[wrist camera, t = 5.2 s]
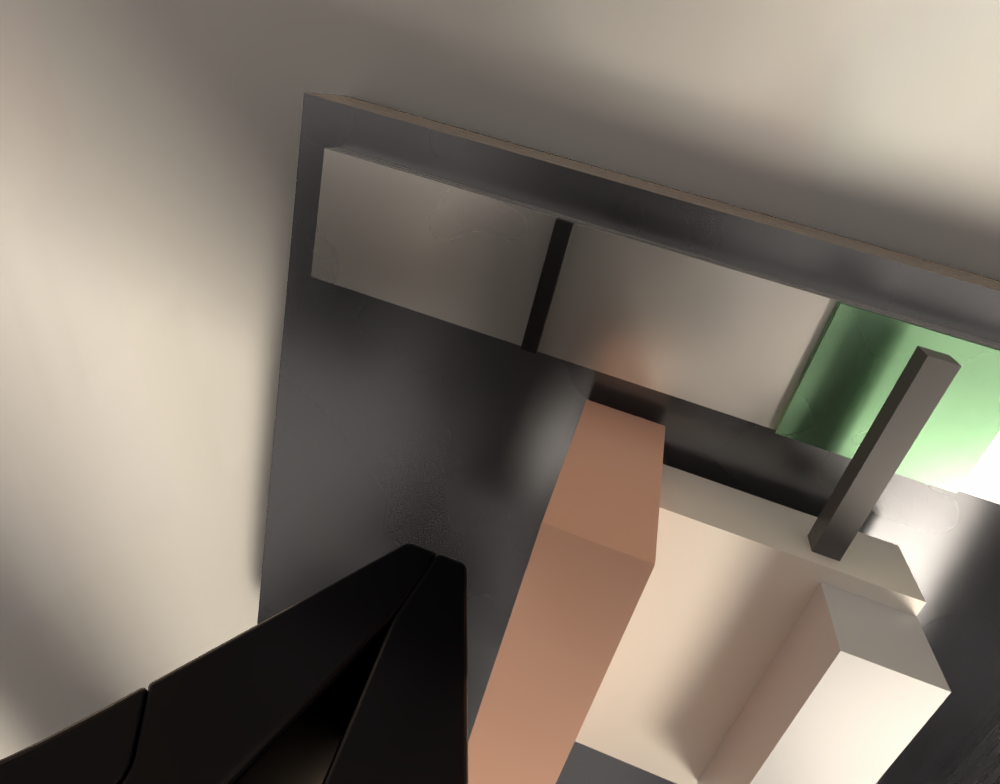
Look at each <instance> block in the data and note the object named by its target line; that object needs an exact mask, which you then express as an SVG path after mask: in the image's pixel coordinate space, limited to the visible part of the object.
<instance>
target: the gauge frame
mask: <svg viewBox="0 0 1000 784" xmlns="http://www.w3.org/2000/svg"><path fill="white" fill-rule="evenodd" d="M917 346H921V347H924V348H927V349H931V350H934V351H937V352H941V353H944V354H947V355H950V356H951V357H952V358H953V359H954V360H956V361H957V362H958V363H959V364H960V365H961V368H960V369H959V371H958V373H957V374H956V376H955V377H954V379H953V381H952V382H951V384H950V385H949V387H948V389H947V390H946V392H945V393H944V395H943V397H942V398H941V400H940V401H939V403H938V405H937V406H936V408H935V409H934V411H933V413H932V414H931V416H930V417H929V419H928V421H927V422H926V424H925V425H924V427H923V429H922V430H921V432H920V433H919V435H918V437H917V438H916V440H915V442H914V443H913V445H912V446H911V448H910V450H909V451H908V453H907V454H906V456H905V458H904V459H903V461H902V462H901V464H900V466H899V467H898V469H897V470H896V472H895V474H894V475H893V477H892V478H891V480H890V482H889V483H888V485H887V486H886V488H885V490H884V491H883V493H882V494H881V496H880V498H879V499H878V501H877V502H876V504H875V506H874V507H873V509H872V510H871V512H870V514H869V515H868V517H867V518H866V520H865V522H864V523H863V525H862V526H861V528H860V530H859V531H858V532H861V533H864V534H867V535H870V536H872V537H875V538H878V539H881V540H884V541H887V542H890V543H893V544H896V545H898V546H899V548H900V550H901V552H902V554H903V556H904V558H905V560H906V562H907V564H908V566H909V568H910V570H911V572H912V574H913V576H914V578H915V580H916V583H917V585H918V587H919V589H920V591H921V593H922V595H923V597H924V599H925V601H926V604H925V605H924V607H923V608H922V609H921V611H920V612H919V613H918V615H917V619H918V621H919V623H920V625H921V627H922V630H923V632H924V634H925V636H926V638H927V640H928V643H929V645H930V647H931V649H932V651H933V653H934V656H935V658H936V660H937V662H938V664H939V666H940V669H941V671H942V673H943V675H944V677H945V680H946V682H947V684H948V686H949V688H950V690H951V693H950V694H949V696H948V697H947V698H946V699H945V700H944V702H943V703H942V704H941V705H940V706H939V708H938V709H937V710H936V711H935V713H934V714H933V715H932V716H931V717H930V719H929V720H928V721H927V722H926V723H925V725H924V726H923V727H922V728H921V729H920V731H919V732H918V733H917V734H916V735H915V737H914V738H913V739H912V740H911V741H910V743H909V744H908V745H907V746H906V748H905V749H904V750H903V751H902V752H901V754H900V755H899V756H898V757H897V758H896V760H895V761H894V762H893V763H892V764H891V766H890V767H889V768H888V769H887V770H886V772H885V773H884V774H883V775H882V776H881V778H880V779H879V780H878V781H877V783H876V784H1000V281H997V280H994V279H990V278H987V277H983V276H979V275H976V274H972V273H969V272H965V271H962V270H958V269H955V268H951V267H948V266H944V265H941V264H937V263H934V262H930V261H926V260H923V259H919V258H916V257H912V256H909V255H905V254H902V253H898V252H895V251H891V250H888V249H884V248H881V247H877V246H873V245H870V244H866V243H863V242H859V241H856V240H852V239H849V238H845V237H842V236H838V235H835V234H831V233H828V232H824V231H821V230H817V229H813V228H810V227H806V226H803V225H799V224H796V223H792V222H789V221H785V220H782V219H778V218H775V217H771V216H768V215H764V214H760V213H757V212H753V211H750V210H746V209H743V208H739V207H736V206H732V205H729V204H725V203H722V202H718V201H715V200H711V199H708V198H704V197H700V196H697V195H693V194H690V193H686V192H683V191H679V190H676V189H672V188H669V187H665V186H662V185H658V184H655V183H651V182H647V181H644V180H640V179H637V178H633V177H630V176H626V175H623V174H619V173H616V172H612V171H609V170H605V169H602V168H598V167H595V166H591V165H587V164H584V163H580V162H577V161H573V160H570V159H566V158H563V157H559V156H556V155H552V154H549V153H545V152H542V151H538V150H534V149H531V148H527V147H524V146H520V145H517V144H513V143H510V142H506V141H503V140H499V139H496V138H492V137H489V136H485V135H481V134H478V133H474V132H471V131H467V130H464V129H460V128H457V127H453V126H450V125H446V124H443V123H439V122H436V121H432V120H429V119H425V118H421V117H418V116H414V115H411V114H407V113H404V112H400V111H397V110H393V109H390V108H386V107H383V106H379V105H376V104H372V103H368V102H365V101H361V100H358V99H354V98H351V97H347V96H341V95H327V94H314V93H304V104H303V115H302V126H301V137H300V149H299V160H298V171H297V183H296V194H295V205H294V217H293V228H292V239H291V251H290V262H289V273H288V284H287V296H286V307H285V318H284V330H283V341H282V352H281V364H280V375H279V386H278V397H277V409H276V420H275V431H274V443H273V454H272V465H271V477H270V488H269V499H268V511H267V522H266V533H265V544H264V556H263V567H262V578H261V590H260V601H259V612H258V624H260V623H261V622H263V621H265V620H267V619H269V618H271V617H272V616H274V615H276V614H278V613H280V612H282V611H283V610H285V609H287V608H289V607H291V606H293V605H294V604H296V603H298V602H300V601H302V600H303V599H305V598H307V597H309V596H311V595H313V594H314V593H316V592H318V591H320V590H322V589H324V588H325V587H327V586H329V585H331V584H333V583H335V582H336V581H338V580H340V579H342V578H344V577H345V576H347V575H349V574H351V573H353V572H355V571H356V570H358V569H360V568H362V567H364V566H366V565H367V564H369V563H371V562H373V561H375V560H377V559H378V558H380V557H382V556H384V555H386V554H388V553H389V552H391V551H393V550H395V549H397V548H398V547H400V546H402V545H404V544H408V543H411V544H414V545H417V546H420V547H422V548H425V549H428V550H430V551H433V552H434V553H435V554H436V555H443V556H446V557H448V558H451V559H454V560H456V561H459V562H462V563H464V564H465V566H466V568H467V663H468V741H469V738H470V735H471V732H472V729H473V726H474V723H475V720H476V717H477V714H478V711H479V708H480V705H481V702H482V699H483V696H484V693H485V690H486V687H487V684H488V681H489V678H490V675H491V672H492V669H493V666H494V663H495V660H496V658H497V655H498V652H499V649H500V646H501V643H502V640H503V637H504V634H505V631H506V628H507V625H508V622H509V619H510V616H511V613H512V610H513V607H514V604H515V601H516V598H517V595H518V592H519V589H520V586H521V583H522V580H523V577H524V574H525V571H526V568H527V565H528V562H529V559H530V556H531V553H532V550H533V547H534V544H535V541H536V538H537V535H538V532H539V529H540V526H541V523H542V520H543V518H544V515H545V512H546V510H547V507H548V504H549V501H550V499H551V496H552V493H553V490H554V488H555V485H556V482H557V479H558V477H559V474H560V471H561V468H562V466H563V463H564V460H565V457H566V455H567V452H568V449H569V446H570V444H571V441H572V438H573V436H574V433H575V430H576V427H577V425H578V422H579V419H580V416H581V414H582V411H583V408H584V405H585V403H586V400H590V401H593V402H596V403H599V404H602V405H605V406H608V407H610V408H613V409H616V410H619V411H622V412H625V413H628V414H631V415H634V416H637V417H640V418H643V419H646V420H649V421H652V422H655V423H658V424H661V425H664V426H665V439H664V453H663V464H665V465H668V466H671V467H673V468H676V469H679V470H682V471H685V472H688V473H691V474H694V475H697V476H699V477H702V478H705V479H708V480H711V481H714V482H717V483H720V484H723V485H725V486H728V487H731V488H734V489H737V490H740V491H743V492H746V493H748V494H751V495H754V496H757V497H760V498H763V499H766V500H769V501H772V502H774V503H777V504H780V505H783V506H786V507H789V508H792V509H795V510H797V511H800V512H803V513H806V514H809V515H812V516H815V517H818V516H819V515H820V513H821V511H822V509H823V508H824V506H825V504H826V503H827V501H828V499H829V497H830V496H831V494H832V492H833V491H834V489H835V487H836V485H837V484H838V482H839V480H840V478H841V477H842V475H843V473H844V472H845V470H846V468H847V466H848V465H849V463H850V461H851V460H852V458H853V456H854V454H855V453H856V451H857V449H858V447H859V446H860V444H861V442H862V441H863V439H864V437H865V435H866V434H867V432H868V430H869V428H870V427H871V425H872V423H873V422H874V420H875V418H876V416H877V415H878V413H879V411H880V410H881V408H882V406H883V404H884V403H885V401H886V399H887V397H888V396H889V394H890V392H891V391H892V389H893V387H894V385H895V384H896V382H897V380H898V379H899V377H900V375H901V373H902V372H903V370H904V368H905V366H906V365H907V363H908V361H909V360H910V358H911V356H912V354H913V353H914V351H915V349H916V347H917ZM258 624H257V625H258ZM556 784H676V783H674V782H671V781H669V780H667V779H664V778H662V777H659V776H657V775H655V774H652V773H650V772H647V771H645V770H643V769H640V768H638V767H636V766H633V765H631V764H628V763H626V762H624V761H621V760H619V759H616V758H614V757H612V756H609V755H607V754H604V753H602V752H600V751H597V750H595V749H593V748H590V747H588V746H585V745H583V744H581V743H578V742H576V741H575V742H574V744H573V747H572V749H571V751H570V753H569V755H568V758H567V760H566V762H565V764H564V766H563V769H562V771H561V773H560V775H559V777H558V780H557V782H556Z"/></svg>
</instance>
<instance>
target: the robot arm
mask: <svg viewBox="0 0 1000 784" xmlns="http://www.w3.org/2000/svg"><path fill="white" fill-rule="evenodd" d="M0 784H468V663H467V568H466V566H465V564H464V563H462V562H459V561H456V560H454V559H451V558H448V557H446V556H443V555H436V554H435V553H434V552H433V551H430V550H428V549H425V548H422V547H420V546H417V545H414V544H411V543H408V544H404V545H402V546H400V547H398V548H397V549H395V550H393V551H391V552H389V553H388V554H386V555H384V556H382V557H380V558H378V559H377V560H375V561H373V562H371V563H369V564H367V565H366V566H364V567H362V568H360V569H358V570H356V571H355V572H353V573H351V574H349V575H347V576H345V577H344V578H342V579H340V580H338V581H336V582H335V583H333V584H331V585H329V586H327V587H325V588H324V589H322V590H320V591H318V592H316V593H314V594H313V595H311V596H309V597H307V598H305V599H303V600H302V601H300V602H298V603H296V604H294V605H293V606H291V607H289V608H287V609H285V610H283V611H282V612H280V613H278V614H276V615H274V616H272V617H271V618H269V619H267V620H265V621H263V622H261V623H260V624H258V625H256V626H254V627H252V628H250V629H249V630H247V631H245V632H243V633H241V634H240V635H238V636H236V637H234V638H232V639H230V640H229V641H227V642H225V643H223V644H221V645H219V646H218V647H216V648H214V649H212V650H210V651H208V652H207V653H205V654H203V655H201V656H199V657H198V658H196V659H194V660H192V661H190V662H188V663H187V664H185V665H183V666H181V667H179V668H177V669H176V670H174V671H172V672H170V673H168V674H166V675H165V676H163V677H161V678H159V679H157V680H155V681H154V682H152V683H151V684H150V685H149V687H148V691H147V690H146V689H145V688H140V689H138V690H137V691H135V692H133V693H131V694H129V695H127V696H126V697H124V698H122V699H120V700H118V701H116V702H115V703H113V704H111V705H109V706H107V707H105V708H104V709H102V710H100V711H98V712H96V713H94V714H92V715H90V716H88V717H86V718H84V719H82V720H81V721H79V722H77V723H75V724H73V725H71V726H69V727H67V728H65V729H63V730H61V731H59V732H57V733H56V734H54V735H52V736H50V737H48V738H46V739H44V740H42V741H40V742H38V743H36V744H34V745H32V746H29V747H27V748H25V749H23V750H21V751H19V752H17V753H15V754H12V755H10V756H8V757H6V758H4V759H2V760H0Z"/></svg>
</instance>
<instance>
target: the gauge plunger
mask: <svg viewBox="0 0 1000 784" xmlns="http://www.w3.org/2000/svg"><path fill="white" fill-rule="evenodd" d="M960 368H961V365H960V364H959V363H958V362H957V361H956V360H954V359H953V358H952V357H951V356H950V355H947V354H944V353H941V352H937V351H934V350H931V349H927V348H924V347H921V346H917V347H916V349H915V351H914V353H913V354H912V356H911V358H910V360H909V361H908V363H907V365H906V366H905V368H904V370H903V372H902V373H901V375H900V377H899V379H898V380H897V382H896V384H895V385H894V387H893V389H892V391H891V392H890V394H889V396H888V397H887V399H886V401H885V403H884V404H883V406H882V408H881V410H880V411H879V413H878V415H877V416H876V418H875V420H874V422H873V423H872V425H871V427H870V428H869V430H868V432H867V434H866V435H865V437H864V439H863V441H862V442H861V444H860V446H859V447H858V449H857V451H856V453H855V454H854V456H853V458H852V460H851V461H850V463H849V465H848V466H847V468H846V470H845V472H844V473H843V475H842V477H841V478H840V480H839V482H838V484H837V485H836V487H835V489H834V491H833V492H832V494H831V496H830V497H829V499H828V501H827V503H826V504H825V506H824V508H823V509H822V511H821V513H820V515H819V516H818V517H815V516H812V515H809V514H806V513H803V512H800V511H797V510H795V509H792V508H789V507H786V506H783V505H780V504H777V503H774V502H772V501H769V500H766V499H763V498H760V497H757V496H754V495H751V494H748V493H746V492H743V491H740V490H737V489H734V488H731V487H728V486H725V485H723V484H720V483H717V482H714V481H711V480H708V479H705V478H702V477H699V476H697V475H694V474H691V473H688V472H685V471H682V470H679V469H676V468H673V467H671V466H668V465H665V464H663V453H664V439H665V426H664V425H661V424H658V423H655V422H652V421H649V420H646V419H643V418H640V417H637V416H634V415H631V414H628V413H625V412H622V411H619V410H616V409H613V408H610V407H608V406H605V405H602V404H599V403H596V402H593V401H590V400H586V403H585V405H584V408H583V411H582V414H581V416H580V419H579V422H578V425H577V427H576V430H575V433H574V436H573V438H572V441H571V444H570V446H569V449H568V452H567V455H566V457H565V460H564V463H563V466H562V468H561V471H560V474H559V477H558V479H557V482H556V485H555V488H554V490H553V493H552V496H551V499H550V501H549V504H548V507H547V510H546V512H545V515H544V518H543V520H542V523H541V526H540V529H539V532H538V535H537V538H536V541H535V544H534V547H533V550H532V553H531V556H530V559H529V562H528V565H527V568H526V571H525V574H524V577H523V580H522V583H521V586H520V589H519V592H518V595H517V598H516V601H515V604H514V607H513V610H512V613H511V616H510V619H509V622H508V625H507V628H506V631H505V634H504V637H503V640H502V643H501V646H500V649H499V652H498V655H497V658H496V660H495V663H494V666H493V669H492V672H491V675H490V678H489V681H488V684H487V687H486V690H485V693H484V696H483V699H482V702H481V705H480V708H479V711H478V714H477V717H476V720H475V723H474V726H473V729H472V732H471V735H470V738H469V741H468V784H556V782H557V780H558V777H559V775H560V773H561V771H562V769H563V766H564V764H565V762H566V760H567V758H568V755H569V753H570V751H571V749H572V747H573V744H574V742H575V741H576V742H578V743H581V744H583V745H585V746H588V747H590V748H593V749H595V750H597V751H600V752H602V753H604V754H607V755H609V756H612V757H614V758H616V759H619V760H621V761H624V762H626V763H628V764H631V765H633V766H636V767H638V768H640V769H643V770H645V771H647V772H650V773H652V774H655V775H657V776H659V777H662V778H664V779H667V780H669V781H671V782H674V783H676V784H876V783H877V781H878V780H879V779H880V778H881V776H882V775H883V774H884V773H885V772H886V770H887V769H888V768H889V767H890V766H891V764H892V763H893V762H894V761H895V760H896V758H897V757H898V756H899V755H900V754H901V752H902V751H903V750H904V749H905V748H906V746H907V745H908V744H909V743H910V741H911V740H912V739H913V738H914V737H915V735H916V734H917V733H918V732H919V731H920V729H921V728H922V727H923V726H924V725H925V723H926V722H927V721H928V720H929V719H930V717H931V716H932V715H933V714H934V713H935V711H936V710H937V709H938V708H939V706H940V705H941V704H942V703H943V702H944V700H945V699H946V698H947V697H948V696H949V694H950V693H951V690H950V688H949V686H948V684H947V682H946V680H945V677H944V675H943V673H942V671H941V669H940V666H939V664H938V662H937V660H936V658H935V656H934V653H933V651H932V649H931V647H930V645H929V643H928V640H927V638H926V636H925V634H924V632H923V630H922V627H921V625H920V623H919V621H918V619H917V615H918V613H919V612H920V611H921V609H922V608H923V607H924V605H925V604H926V601H925V599H924V597H923V595H922V593H921V591H920V589H919V587H918V585H917V583H916V580H915V578H914V576H913V574H912V572H911V570H910V568H909V566H908V564H907V562H906V560H905V558H904V556H903V554H902V552H901V550H900V548H899V546H898V545H896V544H893V543H890V542H887V541H884V540H881V539H878V538H875V537H872V536H870V535H867V534H864V533H861V532H858V531H859V530H860V528H861V526H862V525H863V523H864V522H865V520H866V518H867V517H868V515H869V514H870V512H871V510H872V509H873V507H874V506H875V504H876V502H877V501H878V499H879V498H880V496H881V494H882V493H883V491H884V490H885V488H886V486H887V485H888V483H889V482H890V480H891V478H892V477H893V475H894V474H895V472H896V470H897V469H898V467H899V466H900V464H901V462H902V461H903V459H904V458H905V456H906V454H907V453H908V451H909V450H910V448H911V446H912V445H913V443H914V442H915V440H916V438H917V437H918V435H919V433H920V432H921V430H922V429H923V427H924V425H925V424H926V422H927V421H928V419H929V417H930V416H931V414H932V413H933V411H934V409H935V408H936V406H937V405H938V403H939V401H940V400H941V398H942V397H943V395H944V393H945V392H946V390H947V389H948V387H949V385H950V384H951V382H952V381H953V379H954V377H955V376H956V374H957V373H958V371H959V369H960Z"/></svg>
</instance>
